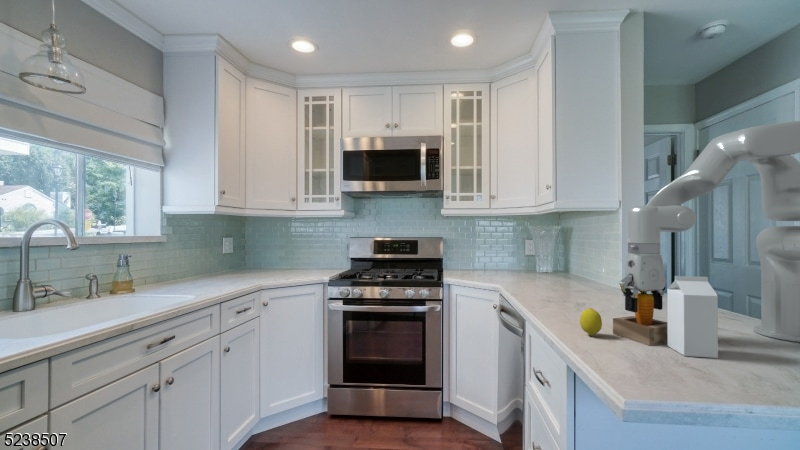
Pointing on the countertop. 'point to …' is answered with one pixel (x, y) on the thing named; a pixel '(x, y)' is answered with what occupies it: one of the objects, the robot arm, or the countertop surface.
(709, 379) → the countertop surface
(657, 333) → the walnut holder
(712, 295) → the milk carton
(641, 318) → the carrot
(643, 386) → the countertop surface
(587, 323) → the lemon
